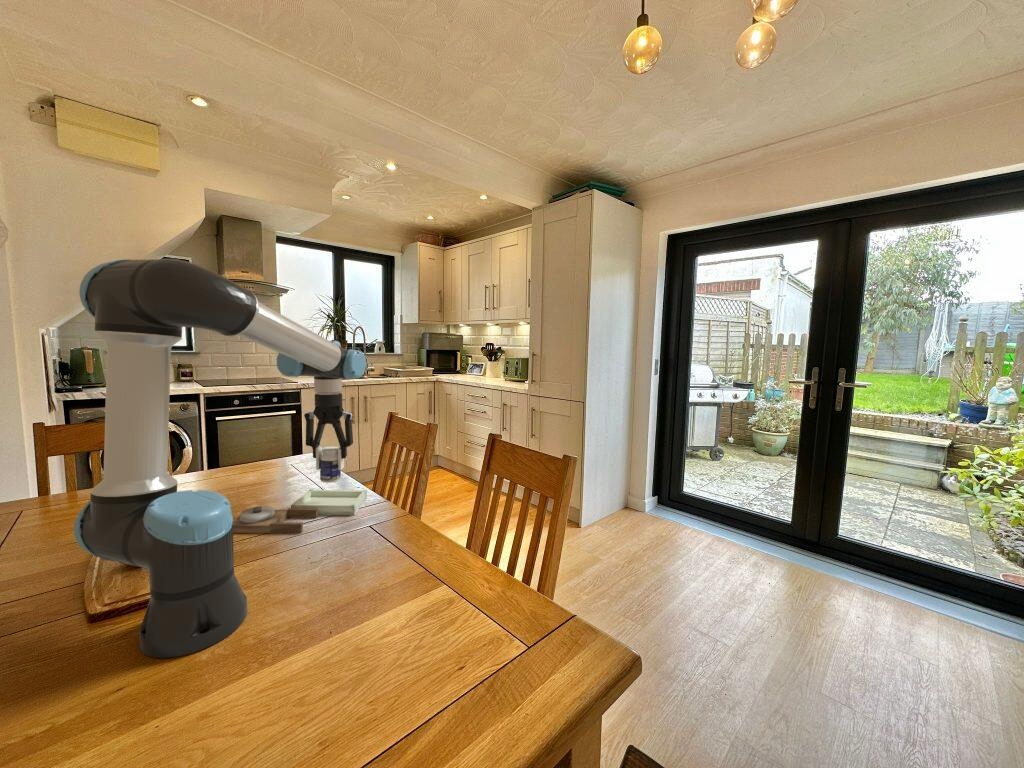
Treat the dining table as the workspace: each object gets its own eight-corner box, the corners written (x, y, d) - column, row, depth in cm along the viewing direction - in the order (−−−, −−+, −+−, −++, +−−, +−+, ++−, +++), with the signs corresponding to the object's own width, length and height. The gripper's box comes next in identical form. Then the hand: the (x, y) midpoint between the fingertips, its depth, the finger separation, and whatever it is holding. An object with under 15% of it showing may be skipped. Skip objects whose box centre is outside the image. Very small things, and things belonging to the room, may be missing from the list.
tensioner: (301, 533, 107) (300, 516, 107) (227, 532, 106) (226, 515, 106) (317, 516, 117) (317, 501, 117) (250, 516, 116) (249, 500, 116)
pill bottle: (335, 483, 121) (335, 451, 120) (316, 482, 121) (316, 450, 120) (343, 477, 127) (343, 446, 125) (325, 476, 127) (325, 445, 125)
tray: (354, 515, 119) (353, 505, 118) (291, 515, 118) (290, 505, 118) (366, 499, 131) (366, 490, 130) (309, 498, 130) (309, 489, 129)
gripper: (364, 391, 125) (365, 465, 127) (302, 390, 124) (304, 464, 126) (356, 395, 117) (357, 472, 120) (289, 393, 116) (292, 472, 119)
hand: (330, 468), depth 123 cm, fingers closed on pill bottle, 6 cm apart
